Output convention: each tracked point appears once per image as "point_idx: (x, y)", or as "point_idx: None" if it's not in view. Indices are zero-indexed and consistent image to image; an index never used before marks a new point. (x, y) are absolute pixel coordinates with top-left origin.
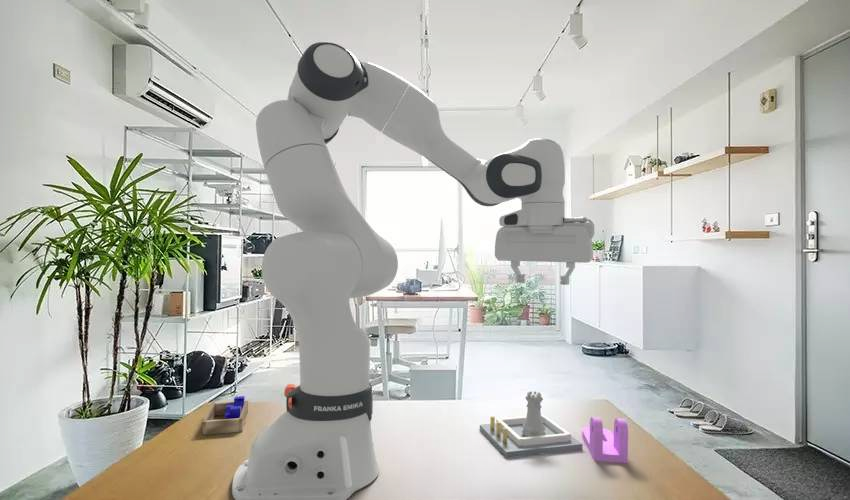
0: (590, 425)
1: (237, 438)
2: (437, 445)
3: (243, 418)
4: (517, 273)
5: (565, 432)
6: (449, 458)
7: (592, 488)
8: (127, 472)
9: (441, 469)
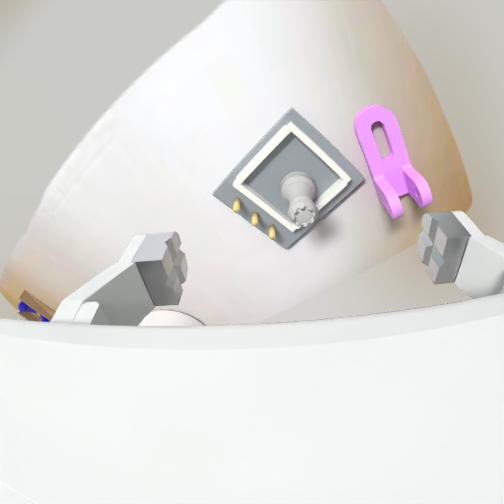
0: (384, 195)
1: None
2: (201, 258)
3: (52, 317)
4: (146, 311)
5: (343, 177)
6: (232, 275)
7: (381, 256)
8: None
9: (240, 295)
